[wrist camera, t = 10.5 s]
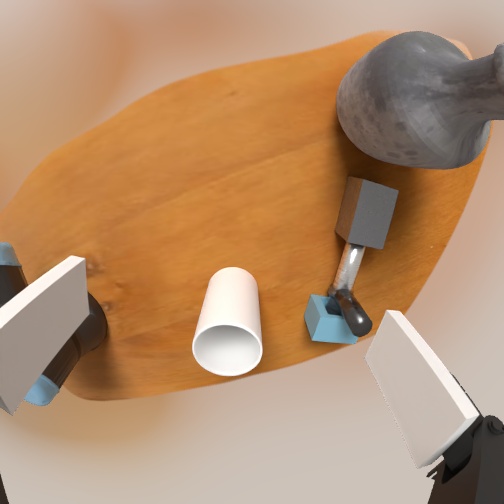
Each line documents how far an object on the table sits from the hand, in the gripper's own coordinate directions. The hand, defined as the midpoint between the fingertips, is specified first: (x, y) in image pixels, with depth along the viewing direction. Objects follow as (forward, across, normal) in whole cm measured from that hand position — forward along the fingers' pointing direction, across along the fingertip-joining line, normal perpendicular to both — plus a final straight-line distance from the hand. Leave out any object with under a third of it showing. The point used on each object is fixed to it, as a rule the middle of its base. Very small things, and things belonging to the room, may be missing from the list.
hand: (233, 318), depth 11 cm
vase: (+32, +17, +18) cm, 40 cm away
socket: (+32, +18, -16) cm, 40 cm away
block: (+32, +18, +2) cm, 37 cm away
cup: (+32, +1, -15) cm, 35 cm away
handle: (+31, +18, -8) cm, 37 cm away
